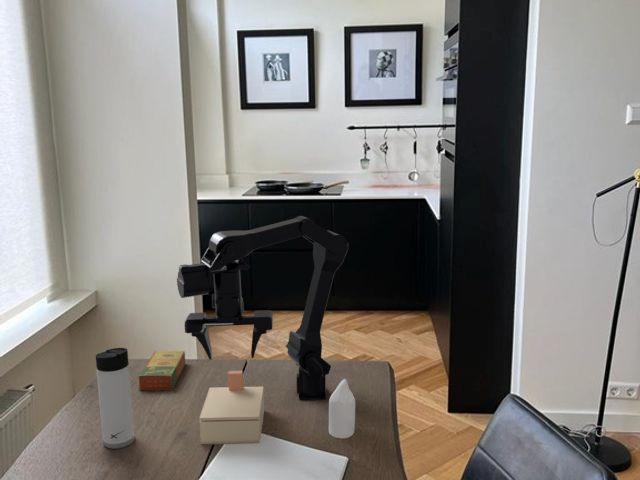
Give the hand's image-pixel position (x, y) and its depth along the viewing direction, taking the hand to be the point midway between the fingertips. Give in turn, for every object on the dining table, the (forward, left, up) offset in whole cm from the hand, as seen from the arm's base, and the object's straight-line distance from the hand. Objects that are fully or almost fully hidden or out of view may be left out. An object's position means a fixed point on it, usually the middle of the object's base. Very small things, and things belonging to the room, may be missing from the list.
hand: (231, 358), depth 139 cm
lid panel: (-1, +7, -8) cm, 10 cm away
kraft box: (-1, +7, -13) cm, 15 cm away
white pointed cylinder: (-24, +10, -13) cm, 29 cm away
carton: (+20, -20, -13) cm, 32 cm away
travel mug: (+22, +12, -13) cm, 28 cm away
